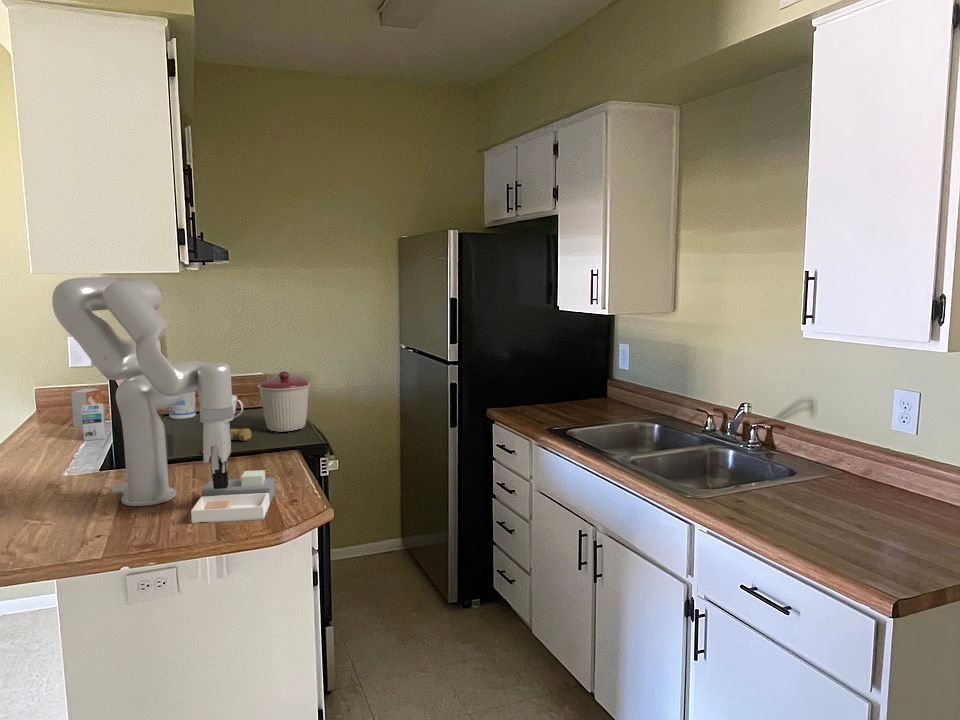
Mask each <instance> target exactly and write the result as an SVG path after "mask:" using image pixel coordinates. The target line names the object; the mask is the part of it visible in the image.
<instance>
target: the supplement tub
mask: <svg viewBox="0 0 960 720" xmlns="http://www.w3.org/2000/svg"><path fill="white" fill-rule="evenodd" d="M196 412H197V411H196V391H194V392H190V393H185V394H184V396H183V398H182V400H181V401H180V402H179V403H177V404H175V405H173V406H170V407H168V416H169V418H170V419H175V420H182V419H183V420H184V419H185V420H186V419H191V418H194V417H195V416H196V415H197V413H196Z"/></svg>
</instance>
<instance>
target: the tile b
mask: <svg viewBox="0 0 960 720" xmlns="http://www.w3.org/2000/svg"><path fill="white" fill-rule="evenodd" d="M265 478H266V470H264V469H263V470H262V469H260V470H258V469H257V470H244V471H243V473H242V474H241V478H240V479H241V481H242V487H243V486H262V485H263V483H264V481H265Z"/></svg>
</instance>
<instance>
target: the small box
mask: <svg viewBox="0 0 960 720" xmlns="http://www.w3.org/2000/svg"><path fill="white" fill-rule="evenodd" d="M70 397H71V409H72V421H73V427H78V428H83V423H82V412H81V410H82V406H83V405H85V404H100V403H103V401H102V399H103V398H102V389H101V388H92V387H91V388H89V387H88V388H82V389H78V390H74V391H71V392H70Z"/></svg>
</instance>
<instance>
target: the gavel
mask: <svg viewBox="0 0 960 720" xmlns="http://www.w3.org/2000/svg"><path fill="white" fill-rule="evenodd" d="M230 436H231V440H247V439H249V438H251V439H252V431H251V429H250V428H244V427H243V428H241V429H240V428H239V429H238V428H230ZM202 452H203V450H202V451H201V453H202Z"/></svg>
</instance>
